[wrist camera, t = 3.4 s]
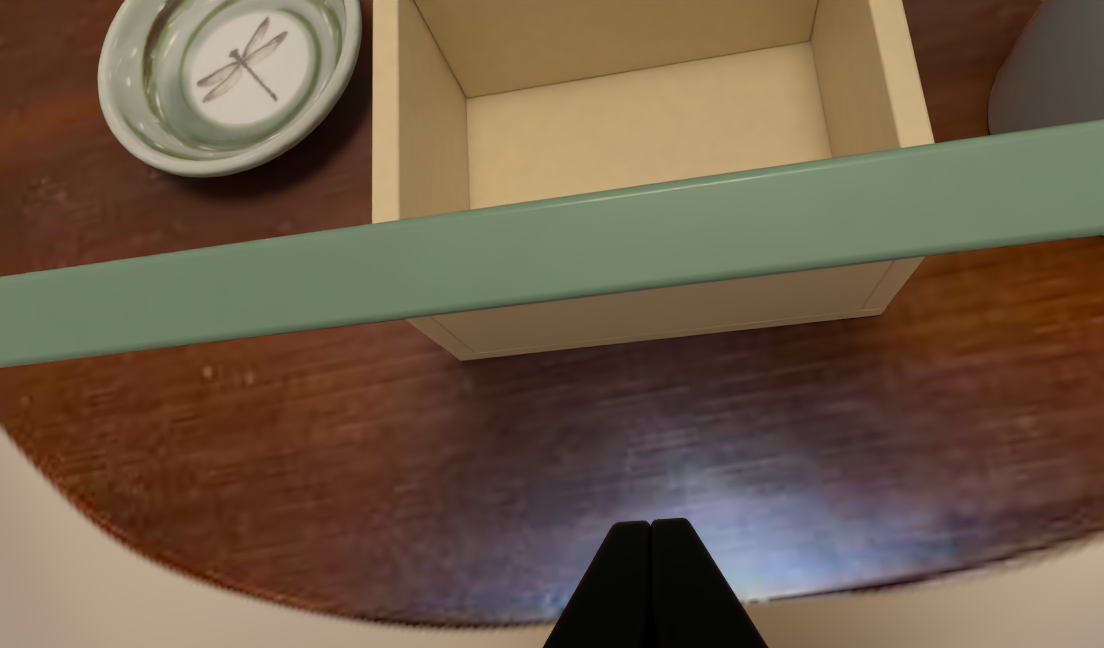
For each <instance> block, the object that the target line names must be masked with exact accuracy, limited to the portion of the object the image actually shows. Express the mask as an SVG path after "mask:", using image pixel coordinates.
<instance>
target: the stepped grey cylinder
mask: <svg viewBox="0 0 1104 648" xmlns="http://www.w3.org/2000/svg"><path fill="white" fill-rule="evenodd" d="M1100 119H1104V0H1041V2H1040V3H1039V5H1038V7H1037V8H1036V10H1035V12H1034V13H1033V15H1032V16H1031V18H1030V20H1029V21H1028V23H1027V24H1026V26H1025V28H1024V29H1023V31H1022V33H1021V34H1020V36H1019V37H1018V39H1017V41H1016V42H1015V44H1014V45H1013V47H1012V49H1011V50H1010V52H1009V54H1008V55H1007V57H1006V58H1005V60H1004V62H1003V63H1002V65H1001V66H1000V68H999V71H998V73H997V75H996V77H995V79H994V82H993V85H992V89H991V92H990V96H989V105H988V125H989V130H990V135H996V134H1003V133H1010V132H1017V131H1024V130H1031V129H1038V128H1045V127H1051V126H1058V125H1065V124H1072V123H1079V122H1086V121H1093V120H1100ZM1101 236H1104V235H1101Z"/></svg>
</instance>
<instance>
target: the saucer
mask: <svg viewBox="0 0 1104 648" xmlns="http://www.w3.org/2000/svg"><path fill="white" fill-rule="evenodd" d="M361 37H362V13H361V9H360V2H359V0H125V1H124V3H123V4H122V6H121V7H120V9H119V11H118V12H117V14H116V16H115V18H114V20H113V21H112V23H111V25H110V28H109V30H108V33H107V35H106V38H105V41H104V44H103V47H102V51H101V56H100V61H99V68H98V93H99V99H100V104H101V108H102V111H103V114H104V117H105V120H106V122H107V124H108V126H109V128H110V129H111V131H112V133H113V134H114V135H115V137H116V138H117V139H118V141H119V142H120V143H121V144H122V145H123V146H124V147H125V148H126V149H127V150H128V151H129V152H130V153H131V154H132V155H134V156H135V157H136V158H138V159H139V160H141V161H143V162H144V163H146V164H148V165H150V166H152V167H154V168H156V169H159V170H161V171H164V172H167V173H171V174H175V175H179V176H186V177H217V176H226V175H231V174H235V173H239V172H241V171H246V170H249V169H252V168H254V167H257V166H260V165H262V164H264V163H267V162H269V161H271V160H272V159H274V158H276V157H278V156H280V155H282V154H283V153H285V152H286V151H288V150H289V149H291V148H292V147H294V146H295V145H297V144H298V143H299V142H300V141H302V140H303V139H304V138H305V137H307V136H308V135H309V134H310V133H311V132H312V131H313V130H314V129H315V128H316V127H317V126H318V125H319V124H320V123H321V122H322V121H323V120H324V119H325V118H326V116H327V115H328V114H329V113H330V112H331V111H332V109H333V107H334V106H335V104H336V103H337V102H338V100H339V99H340V97H341V96H342V94H343V92H344V90H345V88H346V87H347V85H348V83H349V81H350V78H351V76H352V74H353V71H354V68H355V66H356V62H357V59H358V55H359V50H360V45H361Z"/></svg>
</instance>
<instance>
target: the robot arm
mask: <svg viewBox="0 0 1104 648" xmlns="http://www.w3.org/2000/svg"><path fill="white" fill-rule="evenodd" d="M543 648H768V646H767V645H766V643H765V641H764V640H763V638H762V637H761V635H760V633H759V632H758V630H757V629H756V627H755V626H754V624H753V622H752V621H751V619H750V618H749V616H748V615H747V613H746V611H745V610H744V608H743V606H742V605H741V603H740V602H739V600H738V598H737V597H736V595H735V594H734V592H733V590H732V589H731V587H730V586H729V584H728V582H727V581H726V579H725V578H724V576H723V574H722V573H721V571H720V570H719V568H718V566H717V565H716V563H715V562H714V560H713V558H712V557H711V555H710V554H709V552H708V551H707V549H706V547H705V546H704V544H703V543H702V541H701V539H700V538H699V536H698V535H697V533H696V531H695V530H694V528H693V527H692V525H691V523H690V522H689V521H688V520H687V519H685V518H671V519H657V520H654V521H653V522H652V524H651V526H650V524H649V523H648V522H647V521H643V520H642V521H629V522H618V523H615V524H614V525H613V526H612V527H611V529H610V530H609V532H608V534H607V536H606V537H605V539H604V541H603V543H602V544H601V546H600V548H599V550H598V551H597V553H596V555H595V557H594V558H593V560H592V562H591V564H590V565H589V567H588V569H587V571H586V572H585V574H584V576H583V578H582V579H581V581H580V583H579V585H578V587H577V588H576V590H575V592H574V594H573V595H572V597H571V599H570V601H569V602H568V604H567V606H566V608H565V609H564V611H563V613H562V615H561V616H560V618H559V620H558V622H557V623H556V625H555V627H554V629H553V630H552V632H551V634H550V636H549V637H548V639H547V641H546V643H545V644H544V646H543Z"/></svg>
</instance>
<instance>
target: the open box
mask: <svg viewBox="0 0 1104 648" xmlns="http://www.w3.org/2000/svg"><path fill="white" fill-rule="evenodd" d="M933 143H935V142H934V138H933V134H932V129H931V125H930V121H929V116H928V112H927V108H926V103H925V99H924V95H923V90H922V86H921V82H920V77H919V73H918V68H917V64H916V60H915V55H914V51H913V47H912V42H911V38H910V34H909V29H908V25H907V21H906V16H905V12H904V8H903V3H902V0H373V117H372V224H374V223H381V222H388V221H395V220H402V219H409V218H415V217H422V216H429V215H436V214H443V213H450V212H457V211H464V210H471V209H478V208H485V207H492V206H499V205H506V204H513V203H520V202H527V201H534V200H541V199H548V198H555V197H562V196H569V195H576V194H583V193H590V192H597V191H604V190H611V189H618V188H625V187H632V186H639V185H646V184H653V183H660V182H667V181H674V180H681V179H688V178H695V177H702V176H709V175H716V174H723V173H730V172H737V171H744V170H751V169H758V168H765V167H772V166H779V165H786V164H793V163H800V162H807V161H814V160H821V159H828V158H835V157H842V156H849V155H856V154H863V153H870V152H877V151H884V150H891V149H898V148H905V147H912V146H919V145H926V144H933ZM923 259H924V257H917V258H908V259H900V260H892V261H884V262H875V263H867V264H859V265H850V266H842V267H834V268H825V269H817V270H809V271H800V272H792V273H784V274H776V275H767V276H759V277H751V278H742V279H734V280H726V281H717V282H709V283H701V284H692V285H684V286H676V287H668V288H659V289H651V290H643V291H634V292H626V293H618V294H609V295H601V296H593V297H584V298H576V299H568V300H560V301H551V302H543V303H535V304H526V305H518V306H510V307H501V308H493V309H485V310H476V311H468V312H460V313H452V314H443V315H435V316H427V317H418V318H410V319H405V320H407V321H408V322H409V323H411V324H412V325H413V326H415V327H416V328H417V329H419V330H420V331H421V332H423V333H424V334H426V335H427V336H428V337H430V338H431V339H432V340H434V341H435V342H436V343H438V344H439V345H440V346H442V347H443V348H444V349H446V350H447V351H449V352H450V353H451V354H453V355H454V356H455V357H456V358H457V359H459V360H460V361H463V360H472V359H481V358H490V357H500V356H509V355H518V354H527V353H536V352H545V351H554V350H563V349H573V348H582V347H591V346H600V345H609V344H618V343H627V342H637V341H646V340H655V339H664V338H673V337H682V336H691V335H700V334H710V333H719V332H728V331H737V330H746V329H755V328H764V327H773V326H783V325H792V324H801V323H810V322H819V321H828V320H837V319H847V318H856V317H865V316H874V315H881V314H882V313H883V311H884V310H885V309H886V307H887V306H888V304H889V303H890V302H891V300H892V299H893V298H894V296H895V295H896V294H897V293H898V291H899V290H900V289H901V287H902V286H903V285H904V283H905V282H906V281H907V280H908V278H909V277H910V276H911V274H912V273H913V272H914V270H915V269H916V268H917V267H918V265H919V264H920V263H921V261H922V260H923Z"/></svg>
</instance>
